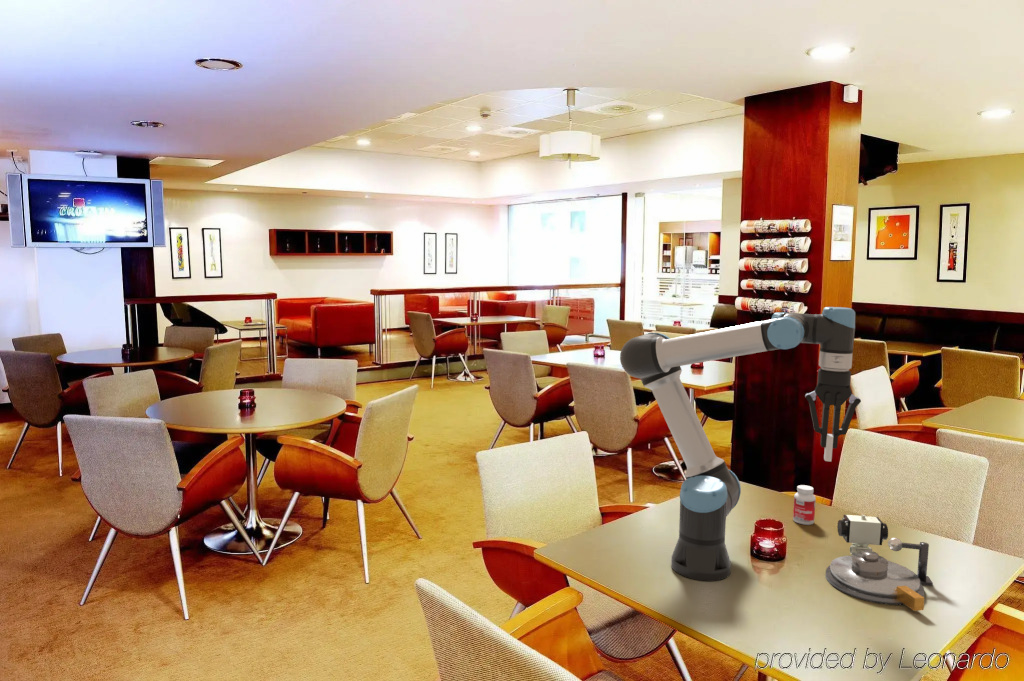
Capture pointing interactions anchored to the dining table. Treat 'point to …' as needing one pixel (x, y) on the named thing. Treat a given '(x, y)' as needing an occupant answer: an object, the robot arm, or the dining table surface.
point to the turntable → (881, 582)
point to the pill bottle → (804, 505)
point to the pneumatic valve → (862, 532)
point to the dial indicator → (923, 549)
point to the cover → (869, 565)
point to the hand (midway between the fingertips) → (827, 459)
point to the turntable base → (862, 595)
